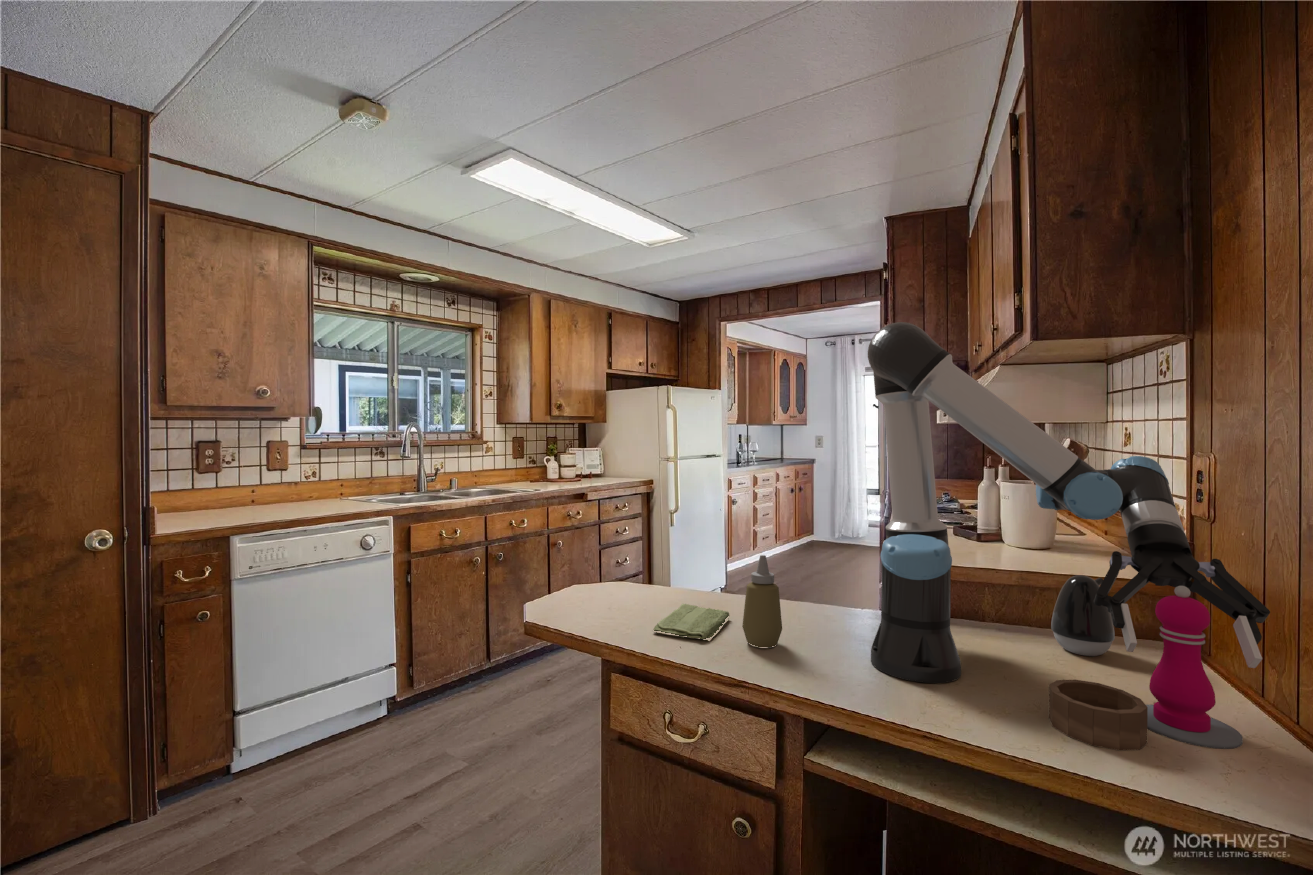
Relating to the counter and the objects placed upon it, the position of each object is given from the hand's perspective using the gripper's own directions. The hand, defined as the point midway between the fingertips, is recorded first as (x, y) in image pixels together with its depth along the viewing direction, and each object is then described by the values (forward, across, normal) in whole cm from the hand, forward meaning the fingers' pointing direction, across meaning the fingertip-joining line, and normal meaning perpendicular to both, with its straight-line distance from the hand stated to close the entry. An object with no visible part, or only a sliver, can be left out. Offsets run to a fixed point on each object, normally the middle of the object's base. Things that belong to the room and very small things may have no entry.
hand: (1191, 655), depth 83 cm
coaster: (+6, 0, -10) cm, 11 cm away
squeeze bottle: (+2, +65, -14) cm, 66 cm away
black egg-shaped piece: (-16, +6, -32) cm, 36 cm away
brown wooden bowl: (+11, +12, -5) cm, 17 cm away
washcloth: (0, +81, -17) cm, 83 cm away
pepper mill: (+6, 0, -9) cm, 11 cm away
